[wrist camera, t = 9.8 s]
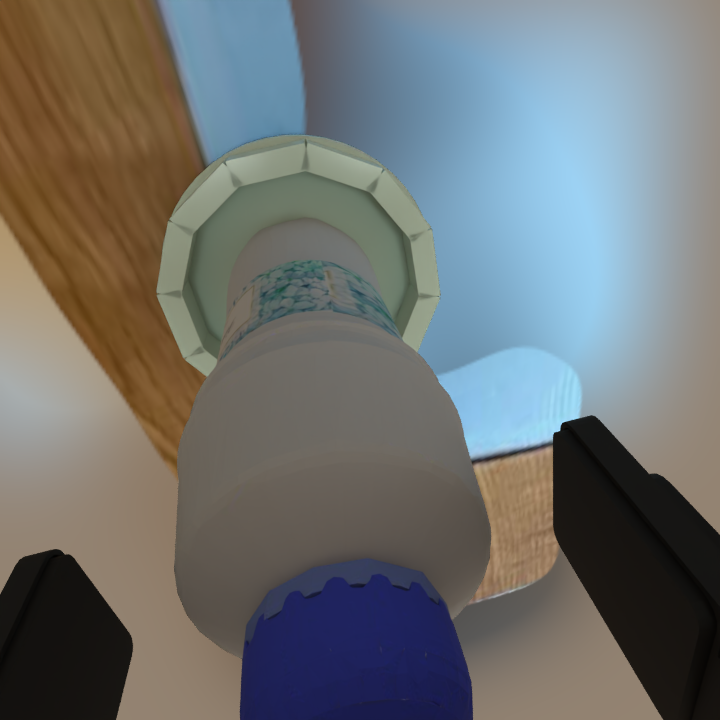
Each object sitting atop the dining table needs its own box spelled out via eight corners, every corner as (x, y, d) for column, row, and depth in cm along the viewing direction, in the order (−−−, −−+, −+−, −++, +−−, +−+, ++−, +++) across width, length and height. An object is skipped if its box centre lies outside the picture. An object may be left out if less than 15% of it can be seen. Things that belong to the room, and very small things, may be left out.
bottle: (231, 193, 22) (52, 639, 4) (384, 215, 23) (713, 620, 6) (224, 335, 25) (100, 935, 7) (360, 347, 26) (526, 877, 9)
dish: (116, 171, 21) (99, 181, 19) (410, 103, 22) (424, 106, 20) (217, 413, 27) (212, 440, 25) (444, 357, 28) (457, 380, 26)
